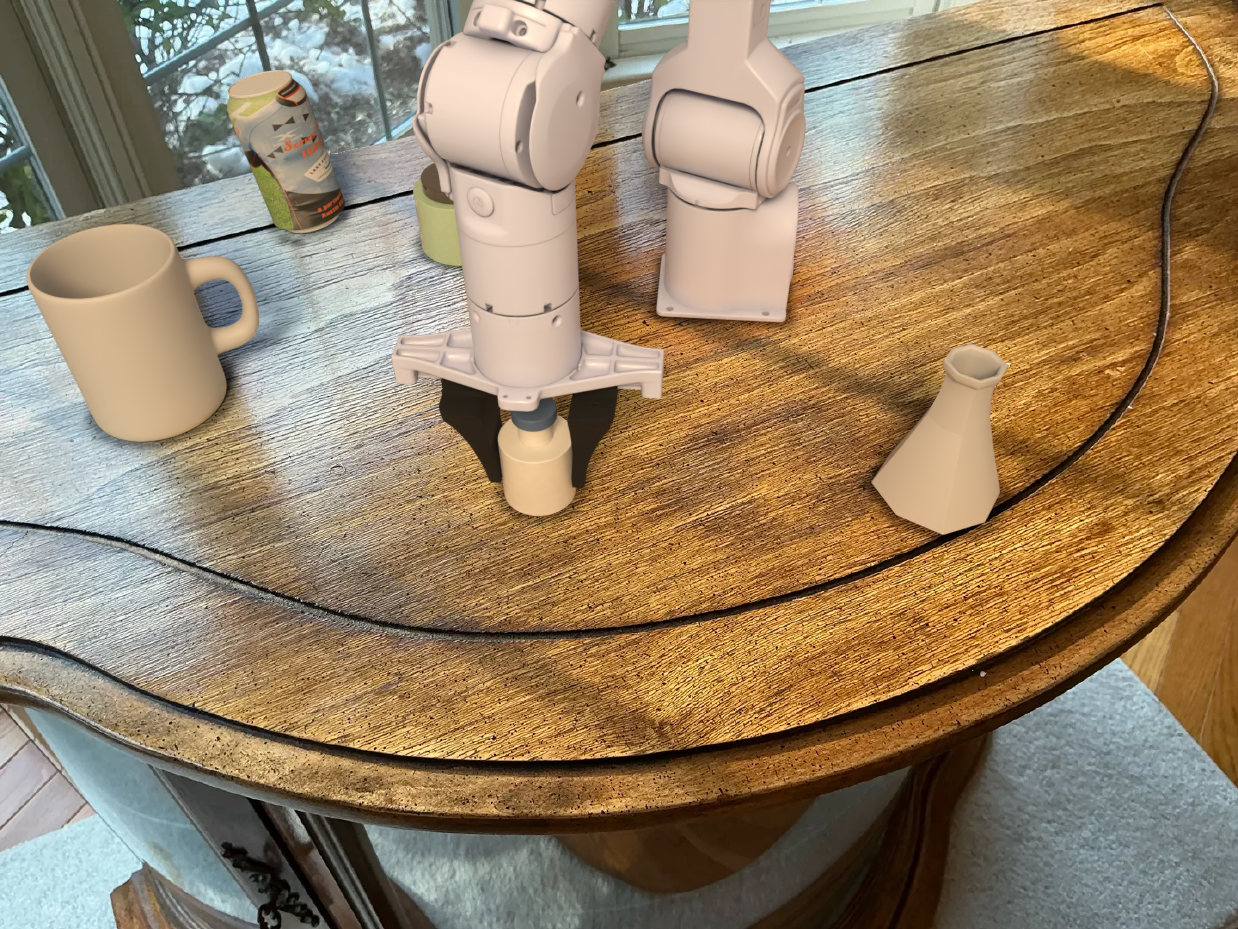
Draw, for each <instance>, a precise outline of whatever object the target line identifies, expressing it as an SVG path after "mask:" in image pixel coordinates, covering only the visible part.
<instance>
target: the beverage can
mask: <svg viewBox="0 0 1238 929" xmlns="http://www.w3.org/2000/svg"><path fill="white" fill-rule="evenodd" d="M226 92H227V95H228V102H227V105H226V106H227V108H226V112H227V115H228V117H229V120H230V122H231V125H232V127H233V129H234V131H235V134H236V136H237V139H238V141H239V143H240V146H241V148H242V151H243V153H244V156H245V158H246V160H247V162H248V165H249V167H250V169H251V172H252V175H253V177H254V180H255V182H256V184H257V186H258V189H259V191H260V194H261V196H262V199H263V201H264V203H265V206H266V208H267V211H268V213H269V216H270V218H271V220H272V222H273V225H275V227H277V228H278V229H281V230H285V231H288V232H290V233H295V234H305V233H306V234H307V233H311V232H315V231H319V230H321V229H324V228H326V227H328V226H329V225H331V224H332V223H334V222H335V221H336V220H337V219H338V218H339V216H340V213H342V211H343V210H344V209H345V206H346V199H345V196H344V194H343V191H342V189H341V186H340V183H339V180H338V178H337V174H336V172H335V169H334V166H333V162H332V161H331V158H330V155H329V153H328V149H327V147H326V144H325V142H324V139H323V136H322V133H321V130H320V127H319V124H318V122H317V119H316V116H315V113H314V111H313V108H312V104H311V102H310V100H309V97H308V94H307V91H306V90H305V88H304V86H303V85H302V84H300V83H299V82H298V81H297V80H296V79H294V78H293V75H292V73H291V72H290V71H288V70H284V69H283V70H282V69H280V70H279V69H276V70H267V71H261V72H257V73H254V74H251V75H248V76H246V77H242V78H241V79H239V80H237V81H235V82H233V83H232V84H231V85H229V87H228V88H227V91H226Z"/></svg>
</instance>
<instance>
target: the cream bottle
mask: <svg viewBox="0 0 1238 929" xmlns="http://www.w3.org/2000/svg"><path fill="white" fill-rule="evenodd" d="M509 411H510V419H508V420H507V421H506V422H505V423H504V424H502V428H501V430H500V431H499V434H498V446H499V454H500V463H501V471H502V487H503V494H504V498H505V500H506V502H507V504H508V505H509V506H510V507H511V508H512V509H513V510H514V511H517V512H518V513H520V514H523V515H525V516H532V517H544V516H550V515H553V514H556V513H558V512H560V511H563V510H564V509H565V508H567V507H568V506H569V505H570V504H571V503H572V502H573V500H574V498H575V497H576V494H577V488H572V481H571V475H572V445H571V438H570V432H569V428H568V422H567V420H566V419H565V418H564V417H562V416H560V415H558V408H557V403H556V400H555V399H554V398H553V397H550V398H544V399H541V400H540V402H539V406H538V407H537V409H535V410H533V411H511V410H509Z"/></svg>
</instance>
